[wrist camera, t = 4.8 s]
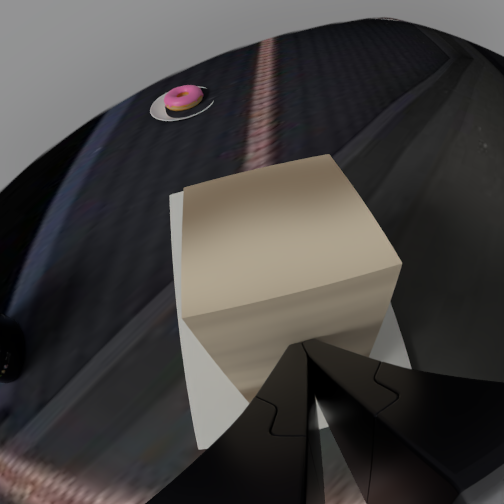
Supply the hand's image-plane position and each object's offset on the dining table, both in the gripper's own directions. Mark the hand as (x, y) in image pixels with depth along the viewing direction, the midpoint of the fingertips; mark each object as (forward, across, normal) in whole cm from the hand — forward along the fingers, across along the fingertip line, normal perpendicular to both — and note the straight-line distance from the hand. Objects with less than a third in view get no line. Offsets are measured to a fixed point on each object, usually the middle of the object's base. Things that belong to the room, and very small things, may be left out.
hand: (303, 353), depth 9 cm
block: (+6, 0, -5) cm, 8 cm away
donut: (+30, -7, +15) cm, 34 cm away
